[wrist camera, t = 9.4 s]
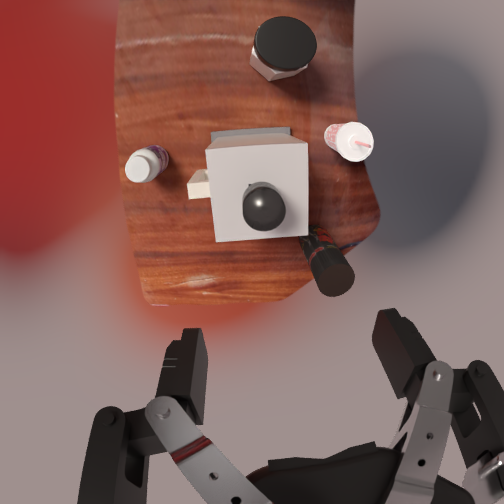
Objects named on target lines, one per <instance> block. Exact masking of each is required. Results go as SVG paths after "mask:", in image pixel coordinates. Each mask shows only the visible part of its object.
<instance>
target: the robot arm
mask: <svg viewBox="0 0 504 504" xmlns="http://www.w3.org/2000/svg"><path fill="white" fill-rule="evenodd" d="M372 342H373V346H374V348H375V351H376V353H377V354H378V357H379V359H380V361H381V363H382V366H383V368H384V370H385V372H386V374H387V376H388V379H389V381H390V383H391V385H392V387H393V390H394V392H395V394H396V397H397V399H400V398H403V397H406V398H407V400H408V401H407V403H406V405H405V408H404V411H403V414H402V417H401V420H400V423H399V426H398V429H397V431H396V434H395V436H394V438H393V440H392V442H391V444H390V445H389V447H388V448H385V447H376V444H375V442H374V441H373V442H370V443H366V444H363V445H359V446H354V447H350V448H348V449H346V450H344V451H342V452H339V453H337V454H335V455H333V456H330V457H328V458H325V459H312V458H299V457H294V458H285V459H275V460H268V466H266V467H262V468H260V469H258V470H255V471H254V472H252V473H250V474H249V475H247V476H246V477H245V476H243V475H242V473H241V472H240V471H239V470H238V469H237V468H236V467H235V466H234V465H233V464H232V463H231V462H230V461H229V460H228V459H227V458H226V457H225V456H224V455H223V453H222V452H221V451H220V450H219V449H218V448H217V447H216V446H215V445H214V444H213V442H212V441H211V440H210V439H208V438H206V437H205V436H204V435H203V434H202V432H201V431H200V430H199V429H198V428H197V426H196V425H203V418H204V404H205V392H206V380H207V368H208V355H207V350H206V346H205V342H204V338H203V333H202V330H201V328H185V329H183V333H182V337H181V340H173V341H172V342H171V344H170V345H169V346H168V347H167V349H166V353H165V357H164V361H163V368H162V370H161V374H160V378H159V383H158V388H157V392H156V396H155V398H154V399H153V400H151V401H150V402H149V403H148V404H147V406H146V407H145V408H142V409H139V410H135V411H130V412H124V413H123V411H122V410H121V409H119V408H117V407H113V406H109V407H105V408H102V409H101V410H99V411H98V412H97V414H96V415H95V418H94V421H93V425H92V429H91V433H90V438H89V442H88V447H87V451H86V456H85V461H84V466H83V471H82V477H81V482H80V488H79V495H78V502H77V504H146V498H147V482H148V468H149V456H150V455H153V454H158V453H163V452H169V454H170V455H171V457H172V459H173V461H174V462H175V464H176V465H177V466H178V468H179V469H180V470H181V472H182V473H183V474H184V476H185V477H186V478H187V479H188V481H189V482H190V483H191V485H192V486H193V487H194V488H195V489H196V491H197V492H198V493H199V494H200V495H201V497H202V498H203V499H204V500H205V501H206V502H207V504H493V503H495V502H497V501H499V500H501V499H503V498H504V391H503V389H502V387H501V385H500V383H499V382H498V380H497V378H496V376H495V375H494V373H493V372H492V370H491V368H490V367H489V365H488V364H487V363H485V362H483V361H480V360H475V361H472V362H471V363H470V364H469V366H468V368H467V369H452V368H451V367H450V366H449V365H448V364H447V363H445V362H442V361H437V360H436V358H435V356H434V355H433V353H432V351H431V350H430V348H429V347H428V345H427V344H426V342H425V340H424V339H422V336H421V334H420V333H419V332H418V330H417V328H416V327H415V325H414V324H413V323H412V322H411V321H410V320H408V319H407V318H406V317H401V316H400V314H399V313H398V311H397V310H396V309H395V308H391V309H385V310H380V311H379V312H378V315H377V318H376V322H375V326H374V330H373V334H372ZM473 402H475V404H476V406H477V408H478V411H479V412H480V415H481V421H480V419H479V416H478V414H477V412H476V410H475V407H474V406H473ZM450 425H451V427H452V429H453V432H454V434H455V437H456V439H457V442H458V445H459V448H460V450H461V453H462V456H463V459H464V462H465V465H466V468H467V471H466V473H465V476H464V480H463V482H462V485H463V487H464V488H465V489H464V488H462V487H460V486H458V485H456V484H454V483H452V482H450V481H449V480H447V479H445V478H443V477H441V476H439V475H438V471H439V468H440V464H441V461H442V458H443V454H444V450H445V446H446V442H447V438H448V434H449V429H450Z"/></svg>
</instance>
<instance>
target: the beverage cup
mask: <svg viewBox="0 0 504 504" xmlns="http://www.w3.org/2000/svg"><path fill="white" fill-rule="evenodd" d="M324 139H325V141H326V143H327V144H328V146H329V147H331V148H332V149H334V150H336V151H337V152H339V153H340V154H341V156H342V157H344V158H346V159H347V160H349V161H355V162H359V161H361V160H364V159H365V158H367V157H368V156H369V155H370V153H371V151H372V149H373V137H372V133H371V132H370V130H369V129H368V128H367V127H366V126H364V125H363V124H361V123H356V122H350V123H347V124H334V125H331V126H329V127H328V128H327V129H326V131H325V135H324Z"/></svg>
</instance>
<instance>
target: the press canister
mask: <svg viewBox="0 0 504 504" xmlns="http://www.w3.org/2000/svg"><path fill="white" fill-rule="evenodd" d="M211 140H212V143H211V144H210V145H209V147H208V148H207V149H206V160H207V169H201V170H197V171H196V172H195V173H194V175H193V176H192V178H191V179H190V180H189V182H188V183H187V188H188V195H189V199H195V198H205V197H211V204H212V212H213V221H214V228H215V236H216V242H225V241H237V240H250V239H263V238H277V237H290V236H304V235H308V143H306V142H304V141H301V140H299V139H297V138H295V137H292V136H290V127H265V128H248V129H235V130H224V131H214V132H211ZM256 182H268V183H270V184H272V185H274V186H275V187H276V188H277V189H278V191H279V193H280V195H281V197H282V199H283V201H284V203H285V207H286V214H285V218H284V220H283V222H282V223H281V224H280V225H279V226H278V227H277V228H275V229H273V230H270V231H257V230H254V229H252V228H251V227H250V226H249V225H248V224H247V223H246V222H245V220H244V217H243V210H242V197H243V194H244V192H245V190H246V189H247V188H248V187H249V185H248V184H253V183H256Z"/></svg>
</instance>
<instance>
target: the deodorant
mask: <svg viewBox="0 0 504 504" xmlns="http://www.w3.org/2000/svg"><path fill="white" fill-rule="evenodd" d="M299 242H300V245H301V248H302V250H303V252H304V255H305V257H306V259H307V262H308V264H309V266H310V269H311V271H312V273H313V276H314V278H315V281H316V283H317V285H318V288H319V290H320V292H322V293H323V294H324V295H326V296H329V297H335V296H339V295H342V294H344V293H345V292H347V291H348V290H349V289H350V288H351V286H352V285H353V283H354V278H355V274H354V271H353V269H352V268H351V266H350V265H349V263H348V262H347V260H346V259H345V257H344V256H343V254H342V253H341V251H340V249H339V248H338V246H337V245H336V243H335V242H334V241H333V239H332V238H331V236H330V235H329V233H328V232H327V230H326V229H325V228H324V227H323V226H320V225H310V226H308V235H304V236H300V238H299Z"/></svg>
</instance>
